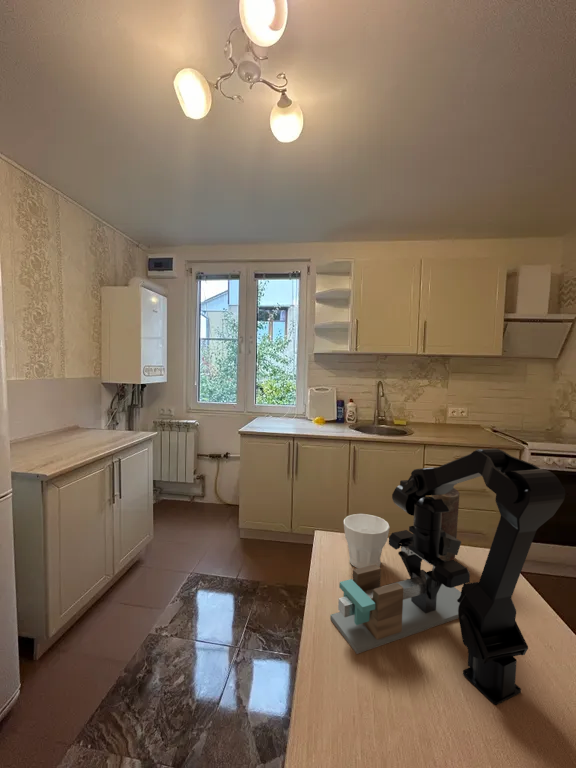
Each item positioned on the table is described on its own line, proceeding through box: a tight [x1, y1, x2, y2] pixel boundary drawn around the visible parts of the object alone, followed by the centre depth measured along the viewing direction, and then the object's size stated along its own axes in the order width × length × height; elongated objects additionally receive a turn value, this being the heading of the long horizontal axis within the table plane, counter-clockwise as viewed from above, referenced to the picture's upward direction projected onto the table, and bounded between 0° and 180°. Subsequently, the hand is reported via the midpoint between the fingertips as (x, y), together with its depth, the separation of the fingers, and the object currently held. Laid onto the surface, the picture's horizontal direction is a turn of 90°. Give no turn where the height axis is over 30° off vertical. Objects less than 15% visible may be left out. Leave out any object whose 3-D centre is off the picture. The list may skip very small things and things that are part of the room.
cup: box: [343, 513, 390, 569], centre depth 99 cm, size 12×12×11 cm
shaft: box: [337, 568, 437, 617], centre depth 76 cm, size 4×23×7 cm, turn 113°
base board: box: [329, 584, 461, 655], centre depth 79 cm, size 10×33×1 cm, turn 113°
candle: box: [431, 487, 461, 561], centre depth 102 cm, size 8×7×20 cm
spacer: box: [338, 578, 375, 625], centre depth 73 cm, size 8×3×5 cm, turn 23°
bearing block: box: [352, 564, 403, 640], centre depth 75 cm, size 9×6×10 cm, turn 23°
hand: (423, 592), depth 80 cm, fingers closed on shaft, 4 cm apart
